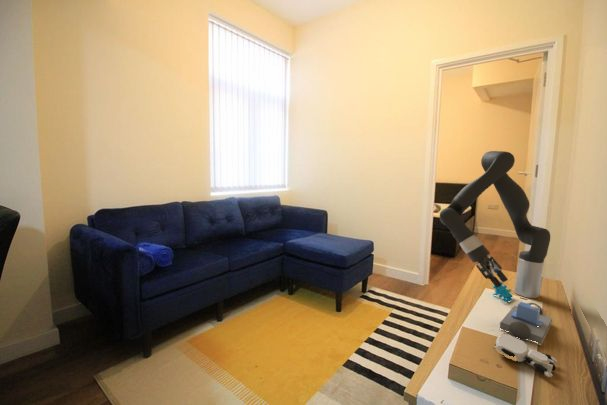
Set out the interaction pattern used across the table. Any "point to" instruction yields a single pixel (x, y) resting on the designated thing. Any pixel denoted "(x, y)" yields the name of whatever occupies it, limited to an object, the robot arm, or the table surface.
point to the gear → (503, 292)
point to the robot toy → (525, 354)
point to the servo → (528, 314)
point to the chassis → (526, 326)
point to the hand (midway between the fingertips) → (502, 283)
